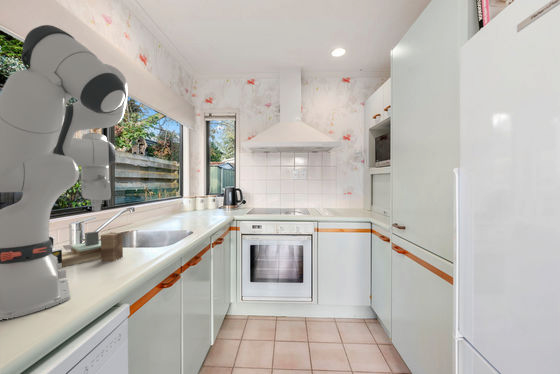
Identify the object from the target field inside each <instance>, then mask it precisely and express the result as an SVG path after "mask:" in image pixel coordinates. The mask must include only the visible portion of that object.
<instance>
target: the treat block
mask: <svg viewBox="0 0 560 374" xmlns="http://www.w3.org/2000/svg"><path fill="white" fill-rule="evenodd" d="M100 240H101V258H100V261H101V262H115V261H117V260H119V258H120V259H122V258H123V257H124V256H123V253H124V251H123V250H124V249H123V232H106V233H104V234H101V235H100ZM121 257H122V258H121ZM116 259H117V260H116ZM114 260H115V261H114Z"/></svg>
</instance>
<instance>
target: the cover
mask: <svg viewBox="0 0 560 374" xmlns="http://www.w3.org/2000/svg"><path fill="white" fill-rule="evenodd" d="M71 248H73V249H75V250H77V251H79V252H82V251H87V250H92V249H98V248H101V239H100V237H99V231H90V232H84V243H76V244H71V245H70V249H71Z"/></svg>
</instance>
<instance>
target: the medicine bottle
mask: <svg viewBox="0 0 560 374" xmlns="http://www.w3.org/2000/svg"><path fill="white" fill-rule="evenodd" d="M55 238H56V237H55V236H52V235H49V239H51V243H52V253H51V254H52V255H54V256H56V257H57V264H58V263H61V264H62V253H63V250H62V248H55V247H56V245H55V243H56V241H55V240H56V239H55Z"/></svg>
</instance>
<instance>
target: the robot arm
mask: <svg viewBox="0 0 560 374" xmlns="http://www.w3.org/2000/svg"><path fill="white" fill-rule="evenodd" d="M20 59H21V62H22V65H23V66H24V68H25V69H20V70H16V71H14V72H13V73H11V74H10V75H9V76H8V78H7V80H6V81H5V82H4V85H3V87H2V89H1V92H0V193H22V197H21V199H20V200H19V201H17V202H15V203H13V204H11V205H7V206H5V207H3V208H1V209H0V320H1V319H7V318H11V319H15V318H19V317H22V316H26V315H30V314H33V313H37V312H39V311H43V310H45V308H46V309H49V308H51V307H54V306H56V305H57V306H58V305H59V303H60V304H63V303H64V302H66V301H68V300H69V299H71V293H70V287H69V282H68V279H66V278H67V274H66V273H67V270H66V269H62V268H63V267H62V264H61V263H58V264H57V257H56V256H54V255H52V254H51V253H52V243H51V239H49V236H50V218H51V213H52V209H53V207H54V205H55V203H56V201H57V200H58V198H60V196H61V195H62V194H64V193H66V192H67V191H68V190H69V189H70V188H72V187H74V186H75V184H76V183H78V180H79V181H80V190H81V197H82V198H83V199H85V200H90V205H91V208H92V209H91V210H92V211H93V212H100V211H101V209H102V208H101V207H102V203H103V201H109V200H111V197H112V192H111V191H112V190H111V182H110V166H111V165H112V164H114V163H115V162H116V161H117V160H116V146H115V145H114V144H113V143H112V142H111V141H108V139H107V136H106V135H104V134H103V133H102V134H101V133H99V132H87V133H84V134H83V135H82V137H81V138H79V137H77V138H76V137H75V134H76V133H77V132H80V131H85V130H91V129H95V130H96V129H105V128H111V127H114V126H116V125H118V124H119V123H120V122H121V121H122V119H123V117H124V115H125V112H126V108H127V102H128V83H127V79H126V76H125V75H124V74H123V73H122V71H121V70H119V69H118V68H116V67H114V66H112V65H110V64H107V63H103V62H102V61H101V59H99V58H98V56H97V55H96V54H94V53H93V52H92V51H91V50H89V49H88V48H87V47H86V46H84V45H83V44H82V43H81V42H79V41H77V40H76V39H75V37H74V36H72V35H71V34H69V33H68V32H67V31H64V30H63V29H61V28H59V27H56V25H55V26H54V25H50V24H44V25H40V26H37V27H35V28H32V29H31V30H30V31H29V32H28V33H27V35H26V36H25V39H24V40H23V44H22V53H21V54H20ZM72 98H74V99H75V100H76V102H74V103H71V104H68V105H67V103H68V102H69V100H71V99H72ZM79 167H80V168H79ZM58 269H61V270H58ZM14 317H15V318H14ZM7 320H8V319H7Z"/></svg>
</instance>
